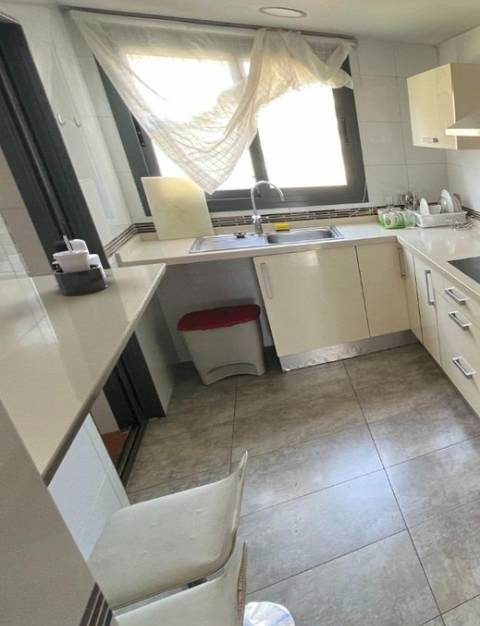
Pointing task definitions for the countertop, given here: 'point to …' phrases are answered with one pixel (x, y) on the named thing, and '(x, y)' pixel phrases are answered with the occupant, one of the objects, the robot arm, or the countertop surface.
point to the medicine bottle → (75, 245)
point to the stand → (80, 281)
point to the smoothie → (72, 259)
